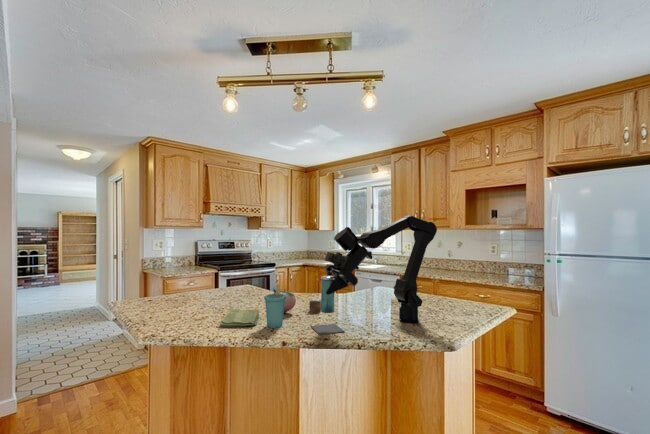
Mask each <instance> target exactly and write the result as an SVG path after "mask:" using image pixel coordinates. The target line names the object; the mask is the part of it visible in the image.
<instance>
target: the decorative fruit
mask: <svg viewBox="0 0 650 434" xmlns="http://www.w3.org/2000/svg"><path fill="white" fill-rule="evenodd" d="M280 294H283V295H285V296H286V299H285V303H284V313H283V314H286V313H288V312H289V311H291V310H292V309H293V308H294V307H295V305H296V303H297V298H296V295H295V294H294V292H292V291H286V288H284V290H280Z"/></svg>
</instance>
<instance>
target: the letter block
mask: <svg viewBox="0 0 650 434" xmlns="http://www.w3.org/2000/svg"><path fill="white" fill-rule="evenodd" d="M309 313H321V298H311V299H310V300H309Z"/></svg>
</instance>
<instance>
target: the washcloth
mask: <svg viewBox="0 0 650 434" xmlns="http://www.w3.org/2000/svg"><path fill="white" fill-rule="evenodd" d="M259 318H260V311H259V309H238V308H233V309H232V308H231V309H230V310H228V312H227V314H226V315H225V317H223V318H222V320H221V321H220V322H219V323H220V324H219V326H220V327H221V328H232V327H234V328H235V327H236V328H238V327H257V325H258V322H259Z"/></svg>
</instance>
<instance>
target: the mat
mask: <svg viewBox="0 0 650 434" xmlns="http://www.w3.org/2000/svg"><path fill="white" fill-rule="evenodd" d="M311 327H312V328H311V329H312V330H314V331H315V332H316V333H317V334H318V335H319V336H323V335H333V334H343V333H345V330H344V329H342V328H341V327H340V326H339V325H337V324H336V323H330V324H329V323H328V324H319V325H311Z"/></svg>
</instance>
